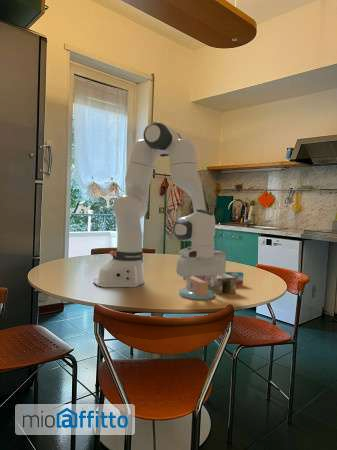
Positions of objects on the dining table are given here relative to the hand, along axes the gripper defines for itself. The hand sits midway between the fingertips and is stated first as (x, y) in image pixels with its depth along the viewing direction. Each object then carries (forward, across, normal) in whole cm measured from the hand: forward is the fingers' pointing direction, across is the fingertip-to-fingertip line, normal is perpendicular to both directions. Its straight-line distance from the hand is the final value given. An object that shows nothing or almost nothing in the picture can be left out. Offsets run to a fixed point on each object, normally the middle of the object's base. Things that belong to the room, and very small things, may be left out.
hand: (200, 286), depth 124 cm
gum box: (+4, -18, -30) cm, 35 cm away
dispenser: (+4, -13, -6) cm, 15 cm away
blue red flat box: (+4, -23, -14) cm, 27 cm away
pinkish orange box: (+3, 0, -3) cm, 4 cm away
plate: (+4, 0, -3) cm, 5 cm away
